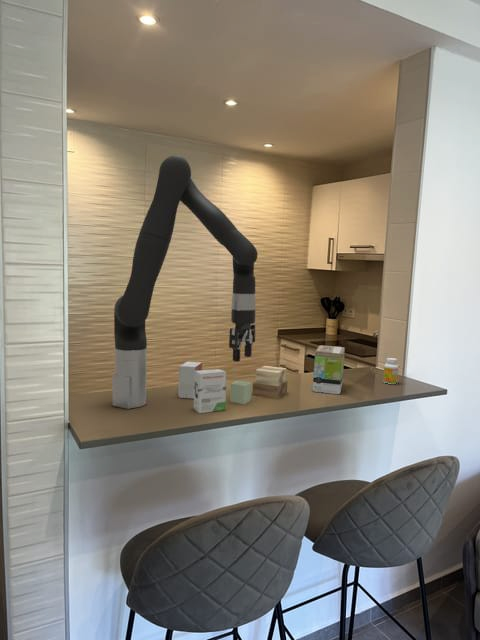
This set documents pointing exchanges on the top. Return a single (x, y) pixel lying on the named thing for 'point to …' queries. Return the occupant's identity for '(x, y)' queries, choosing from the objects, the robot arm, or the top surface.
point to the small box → (187, 378)
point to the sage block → (240, 392)
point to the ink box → (209, 390)
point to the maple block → (270, 375)
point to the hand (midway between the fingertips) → (242, 358)
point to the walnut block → (269, 390)
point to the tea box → (328, 369)
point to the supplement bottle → (391, 371)
